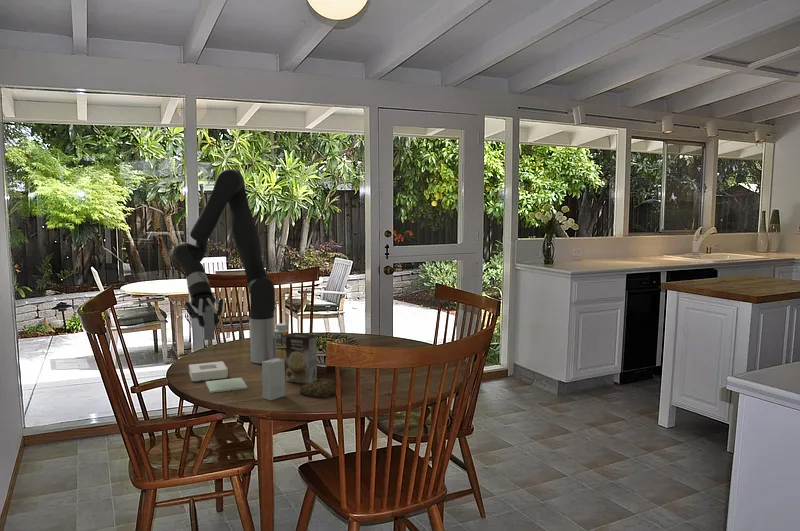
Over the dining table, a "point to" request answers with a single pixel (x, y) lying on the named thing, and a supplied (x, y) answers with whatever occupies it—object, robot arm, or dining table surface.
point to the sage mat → (226, 385)
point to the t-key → (208, 323)
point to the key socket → (208, 371)
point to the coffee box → (301, 358)
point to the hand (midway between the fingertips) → (210, 325)
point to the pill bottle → (281, 335)
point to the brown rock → (319, 388)
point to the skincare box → (273, 378)
